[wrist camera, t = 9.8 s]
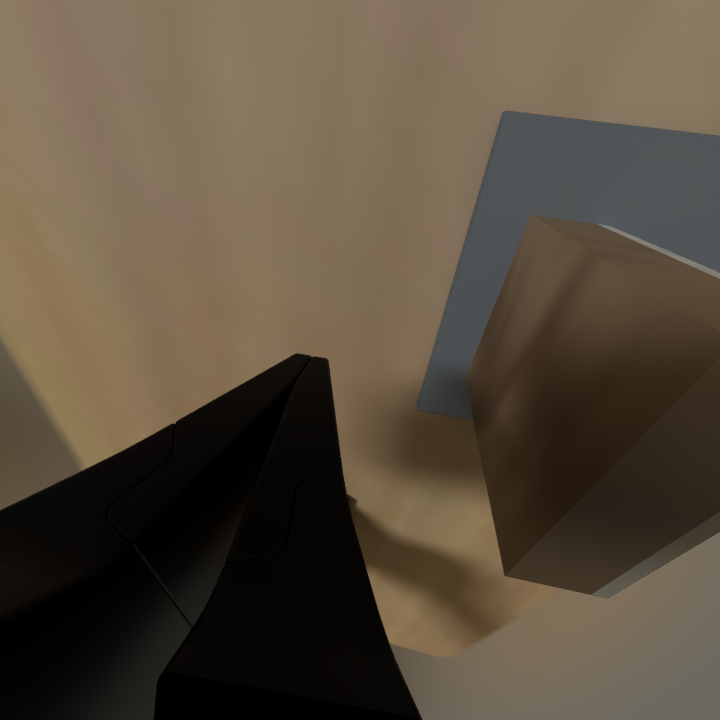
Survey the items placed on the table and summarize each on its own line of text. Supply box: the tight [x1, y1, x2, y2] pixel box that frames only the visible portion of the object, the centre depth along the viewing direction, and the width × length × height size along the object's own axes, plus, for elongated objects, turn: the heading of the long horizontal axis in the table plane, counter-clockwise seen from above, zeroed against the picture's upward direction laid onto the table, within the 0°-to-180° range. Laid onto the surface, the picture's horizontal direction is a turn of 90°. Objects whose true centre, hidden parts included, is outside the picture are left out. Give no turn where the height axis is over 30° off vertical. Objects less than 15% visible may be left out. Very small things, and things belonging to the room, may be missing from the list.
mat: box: [417, 111, 720, 421], centre depth 12 cm, size 12×14×1 cm
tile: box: [465, 215, 720, 598], centre depth 9 cm, size 7×2×8 cm, turn 174°
